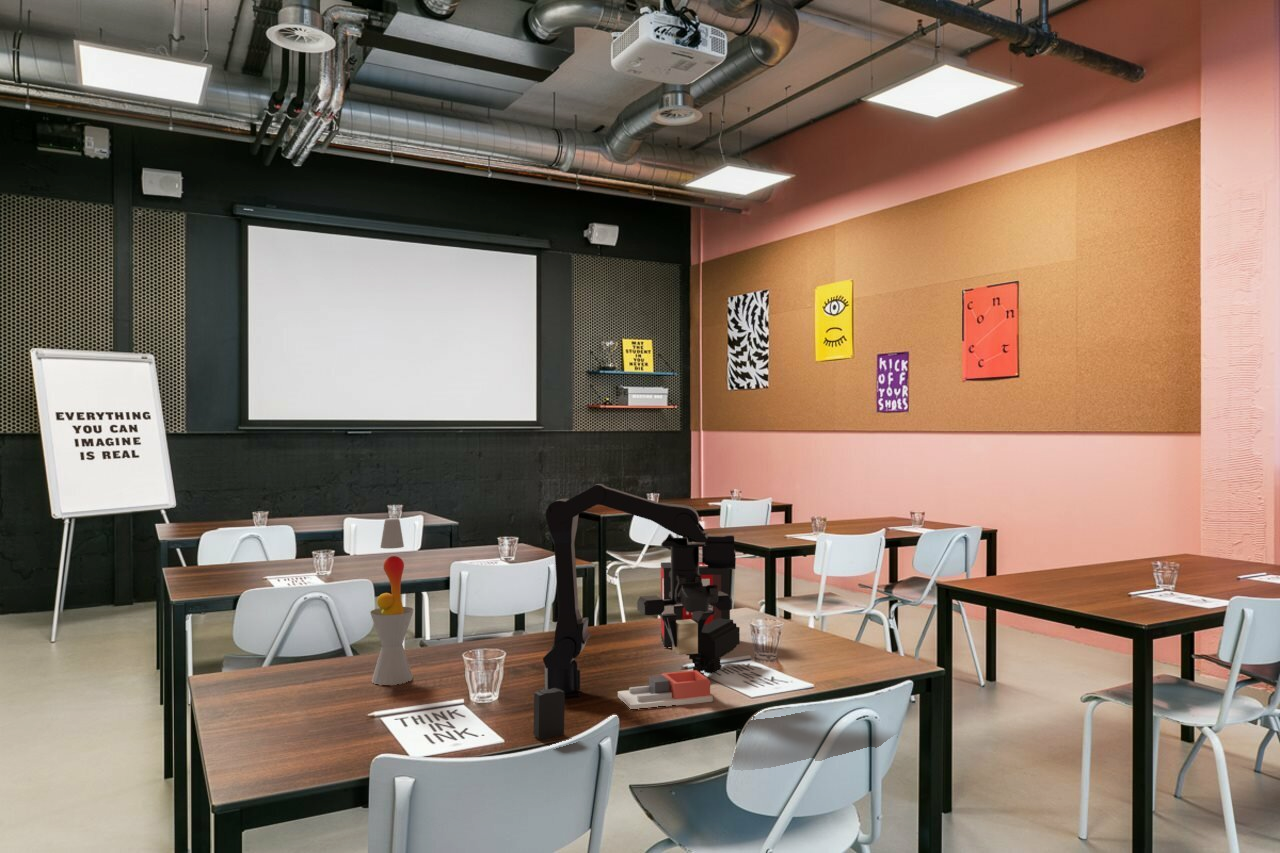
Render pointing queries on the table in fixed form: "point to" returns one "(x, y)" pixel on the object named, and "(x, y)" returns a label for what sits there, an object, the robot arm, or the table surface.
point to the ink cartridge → (549, 713)
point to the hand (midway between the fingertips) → (685, 645)
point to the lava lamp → (392, 615)
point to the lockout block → (686, 637)
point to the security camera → (715, 644)
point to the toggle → (659, 684)
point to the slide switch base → (671, 691)
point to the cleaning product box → (708, 578)
